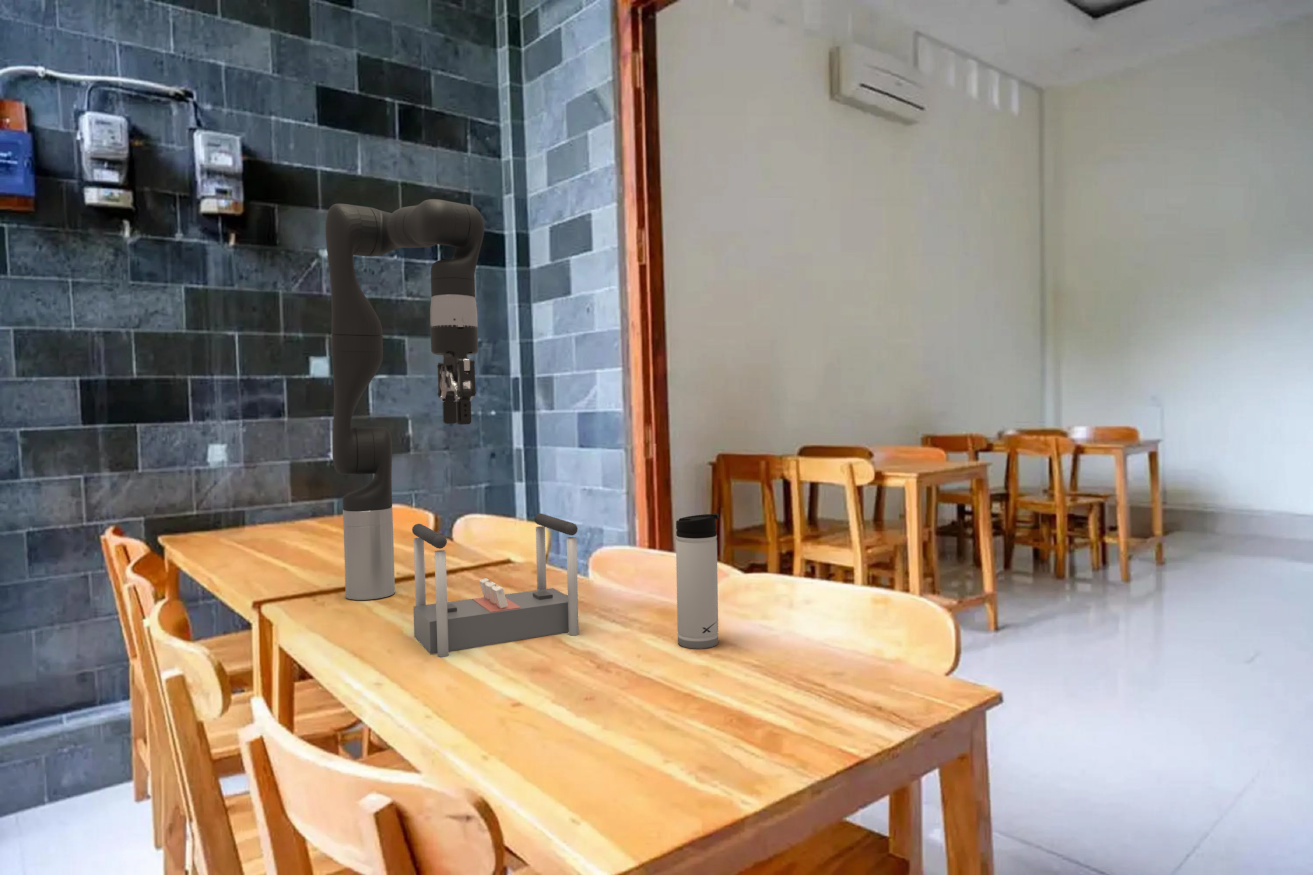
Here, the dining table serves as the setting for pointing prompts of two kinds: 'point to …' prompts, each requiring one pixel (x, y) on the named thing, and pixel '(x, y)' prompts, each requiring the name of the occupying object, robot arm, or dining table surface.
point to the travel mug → (697, 581)
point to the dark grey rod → (556, 524)
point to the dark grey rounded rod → (429, 536)
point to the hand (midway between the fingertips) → (456, 423)
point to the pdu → (493, 607)
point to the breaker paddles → (493, 593)
